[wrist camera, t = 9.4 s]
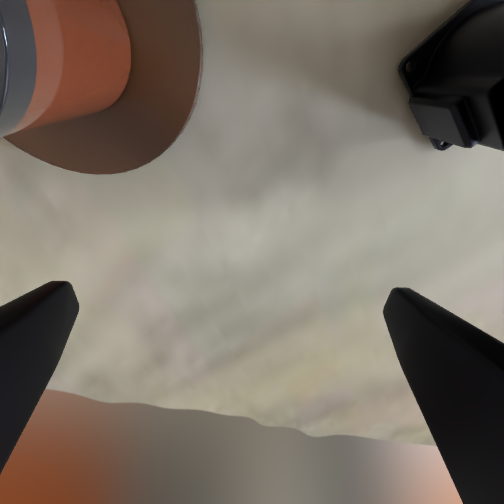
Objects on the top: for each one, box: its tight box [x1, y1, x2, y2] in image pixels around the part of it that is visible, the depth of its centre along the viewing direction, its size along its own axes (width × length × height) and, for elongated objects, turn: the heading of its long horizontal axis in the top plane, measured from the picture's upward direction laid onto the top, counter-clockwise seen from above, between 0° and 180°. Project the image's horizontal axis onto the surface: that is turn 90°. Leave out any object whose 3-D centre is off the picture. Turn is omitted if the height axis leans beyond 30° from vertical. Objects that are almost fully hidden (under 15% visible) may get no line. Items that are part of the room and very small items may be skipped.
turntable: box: [3, 0, 203, 174], centre depth 14 cm, size 14×14×1 cm
